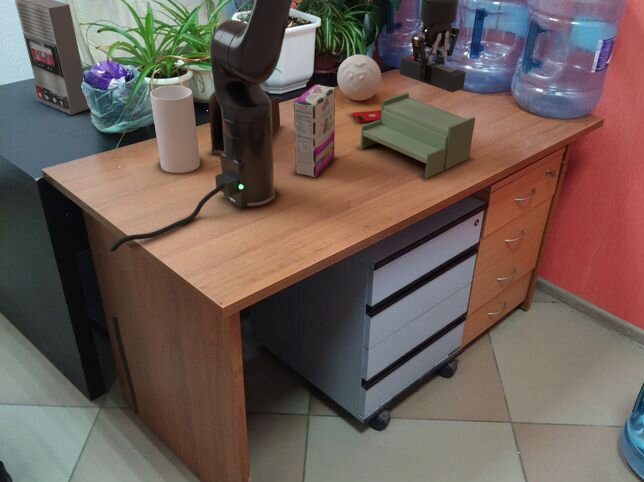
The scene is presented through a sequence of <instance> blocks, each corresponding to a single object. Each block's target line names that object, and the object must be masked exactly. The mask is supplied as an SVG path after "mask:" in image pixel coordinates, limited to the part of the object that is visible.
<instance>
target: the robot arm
mask: <svg viewBox="0 0 644 482" xmlns="http://www.w3.org/2000/svg"><path fill="white" fill-rule="evenodd" d="M293 1H294V0H253V3H252V7H251V10H250V14H249V17H248V20H247V22H244V21H242V20H237V19H230V20H226V21H223V22H221V23H220V24H219V25H218V26H217V27H216V28H215V30H214V32H213V34H212V36H211V41H210V49H209V54H210V65H211V74H212V81H213V89H214V91H215V95H216V98H217V101H218V103H219V105H220V107H221V114H222V127H223V140H224V153H221V155H219V156H220V167H221V168H220V169H221V173H220V174H216V175H215V176H214V179H215V188H214V189H212V190H211V191H209V192H208V193H207V194H206V195H205V196H204V197H203V198H202V199H201V200H199V202H198V204H197V205H196V207H195V209H194V211H192V213H190V215H188V216H187V217H185V218H183V219H181V220H178V221H176V222H173V223H171V224H169V225H167V226H164V227H161V228H160V229H158V230H154V231H151V232H146V233H139V234H130V235H126V236H123V237H121V238H119V239H117V241H115V242H114V243H113V245H111V247H110V248H109V252H111V253H113V252H116V251H117V249H118V248H119V247H120V246H121V245H123V244H125V243H127V242H130V241H136V240H137V241H139V240H146V239H152V238H155V237H158V236H160V235H164V234H166V233H168V232H170V231H172V230H173V229H176V228H178V227H180V226H183V225H186V224H188V223H189V222H192V221H193V220H194V219H195V218H196V217H197V216H198V215H199V213H200V212H201V210H202V208H203V207H204V205H206V203H207V202H208V201H209V200H210V199H212V197H214V196H215V195H216V194H218V193H219V192H221V193H222V194H223V198H224V199H226V200H228V201H229V202H230V203H232V204H233V205H236V206H237V207H239V208H240V209H245V208H251V207H261V206H264V205H267V204H269V203H271V202H272V201H273V200H274V199H275V197H276V190H275V173H274V172H275V171H274V146H273V145H274V140H273V138H274V137H273V136H272V106H271V98H270V96H269V95H268V94H267V93H266V91H264V89H263V87H262V86H261V84H263V83H265V82H267V81H268V80H269V79H270V77H271V76H272V75H273V74H274V72H275V70H276V68H277V66H278V64H279V60H280V57H281V53H282V50H283V45H284V39H285V34H286V32H287V31H286V30H287V25H288V21H289V17H290V12H291V8H292V4H293ZM458 6H459V0H421V3H420V12H419V18H420V20H421V21H422V28H421V30H420V33H419V34H417V35H415V34H414V35H412V36H411V46H412V47H411V48H412V55H413V56H414V61H415V62H418V63H420V64H421V66H420V76H419V77H420V80H421V81H423V82H429V80H430V71H431V62H432V61H433V58H434V61H433V62H436V63H439V64H442V65H445V62H446V61H447V60H448V58H449V57H452V56H453V54H454V50H455V47H456V44H457V41H458V39H459V35H460V28H458V27H455V26H453V25H452V24H454V23H455V22H456V21H457V16H458ZM428 48H429V49H428ZM421 81H420V82H421ZM423 82H422V83H423ZM111 320H112V325H113V330H114V335H115V340H116V344H117V348H118V352H119V356H120V359H121V364H122V367H123V371H124V373H125V379H126V382H127V387H128V391H129V394H130V395H129V396H130V399H131V402H132V408H133V413H134V415H137V414H139V413H140V410H139V405H138V400H137V396H136V390H135V387H134V383H133V379H132V375H131V371H130V367H129V363H128V360H127V355H126V352H125V348H124V343H123V340H122V336H121V330H120V326H119V325H120V324H119V319H118V316H111Z"/></svg>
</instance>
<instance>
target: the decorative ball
mask: <svg viewBox="0 0 644 482" xmlns="http://www.w3.org/2000/svg"><path fill="white" fill-rule="evenodd" d="M336 75H337V76H336V79H337V80H336V81H337V85H338V88H339V90H340V91H341V93H342V94H343V95H344V96H345V97H346V98H348V99H350V100H353V101H358V102H359V101H360V102H361V101H366V100H368V99H370V98H372V97H373V96H374V95H376V93H377V92H378V90H379V89H380V86H381V83H382V72H381V69H380V66H379V65H378V63H377V62H376V61H375V60H374V59H373V58H372V57H370V56H368V55H365V54H353V55H351V56H349V57H347V58H345V59H344V60H343V61H342V62H341V64H340V65H339V67H338V70H337V74H336Z"/></svg>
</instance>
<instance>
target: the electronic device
mask: <svg viewBox="0 0 644 482" xmlns="http://www.w3.org/2000/svg"><path fill="white" fill-rule="evenodd" d="M381 110H382V109H378V110H367V111H356V112H355V111H354V112H352V116H353V117H354V118H355V119H356V120H357V122H358V123H372V122H375V121H377V120H381Z"/></svg>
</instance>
